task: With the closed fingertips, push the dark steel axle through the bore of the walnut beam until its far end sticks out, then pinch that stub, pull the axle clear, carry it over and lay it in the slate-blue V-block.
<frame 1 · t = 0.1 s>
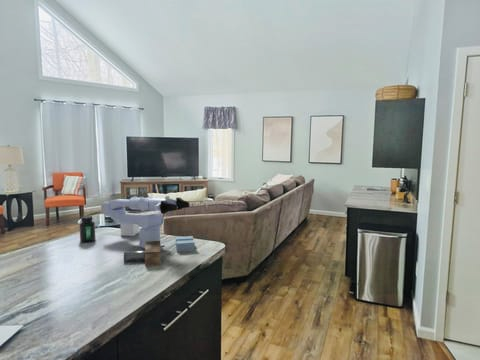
hand: (182, 206, 137), 22 cm above the kitchen island, tool horizontal, fingers open, 7 cm apart
supplement bottle: (87, 241, 157), on the kitchen island
medicine bottle: (130, 234, 169), on the kitchen island
axle: (141, 255, 132), point 2 cm above the kitchen island
beam: (153, 258, 134), on the kitchen island
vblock: (184, 248, 148), on the kitchen island
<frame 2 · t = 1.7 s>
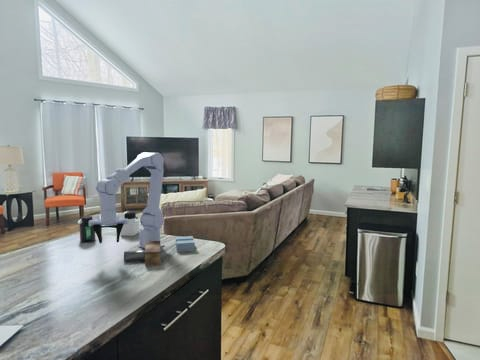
hand: (109, 242, 129), 8 cm above the kitchen island, tool pointing down, fingers open, 6 cm apart
axle: (142, 255, 133), point 2 cm above the kitchen island, tilted 12°
everything else where it was.
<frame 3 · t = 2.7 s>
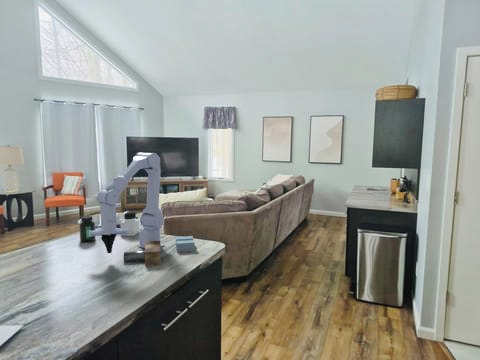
hand: (109, 252, 129), 4 cm above the kitchen island, tool pointing down, fingers closed
axle: (141, 255, 132), point 2 cm above the kitchen island
everything else where it was.
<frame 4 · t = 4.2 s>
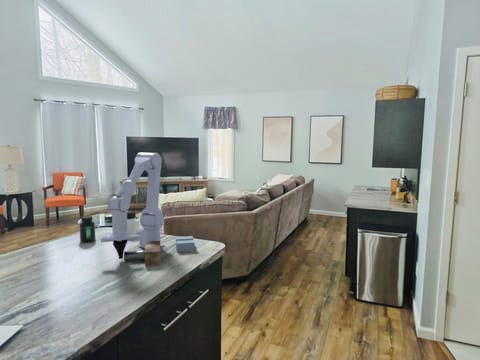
hand: (121, 257, 131), 1 cm above the kitchen island, tool pointing down, fingers closed
axle: (142, 255, 133), point 2 cm above the kitchen island, tilted 6°, touching gripper
everything else where it was.
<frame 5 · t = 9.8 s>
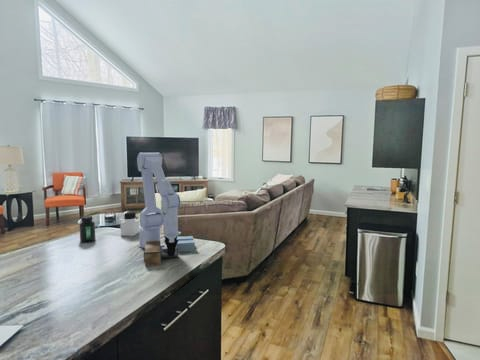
hand: (171, 253, 135), 2 cm above the kitchen island, tool pointing down, fingers closed on axle, 4 cm apart
axle: (161, 253, 134), point 2 cm above the kitchen island, touching gripper
everything else where it was.
when the fingers open (6 cm above the kitchen island, at t = 15.4 s): axle stays where it is, resting on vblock.
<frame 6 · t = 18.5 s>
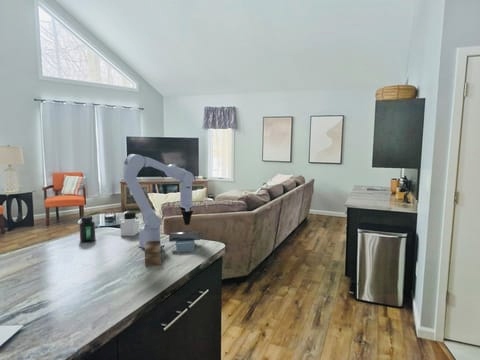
hand: (186, 222, 157), 9 cm above the kitchen island, tool pointing down, fingers open, 7 cm apart
axle: (184, 236, 147), point 6 cm above the kitchen island, touching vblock
everything else where it was.
at the end: axle 0.1 cm off-centre on the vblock, point 5.5 cm above the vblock's base; the gripper is holding nothing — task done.
